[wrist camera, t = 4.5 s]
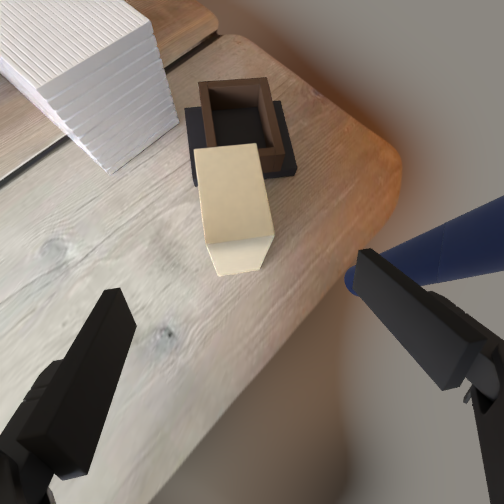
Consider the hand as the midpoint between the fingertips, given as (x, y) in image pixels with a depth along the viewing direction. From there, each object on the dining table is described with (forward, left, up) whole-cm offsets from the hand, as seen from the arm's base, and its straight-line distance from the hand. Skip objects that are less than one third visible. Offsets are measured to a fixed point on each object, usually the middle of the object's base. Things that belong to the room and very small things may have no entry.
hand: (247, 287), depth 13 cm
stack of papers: (+32, -19, -12) cm, 39 cm away
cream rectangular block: (+3, -6, -12) cm, 13 cm away
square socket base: (+7, -18, -12) cm, 22 cm away
